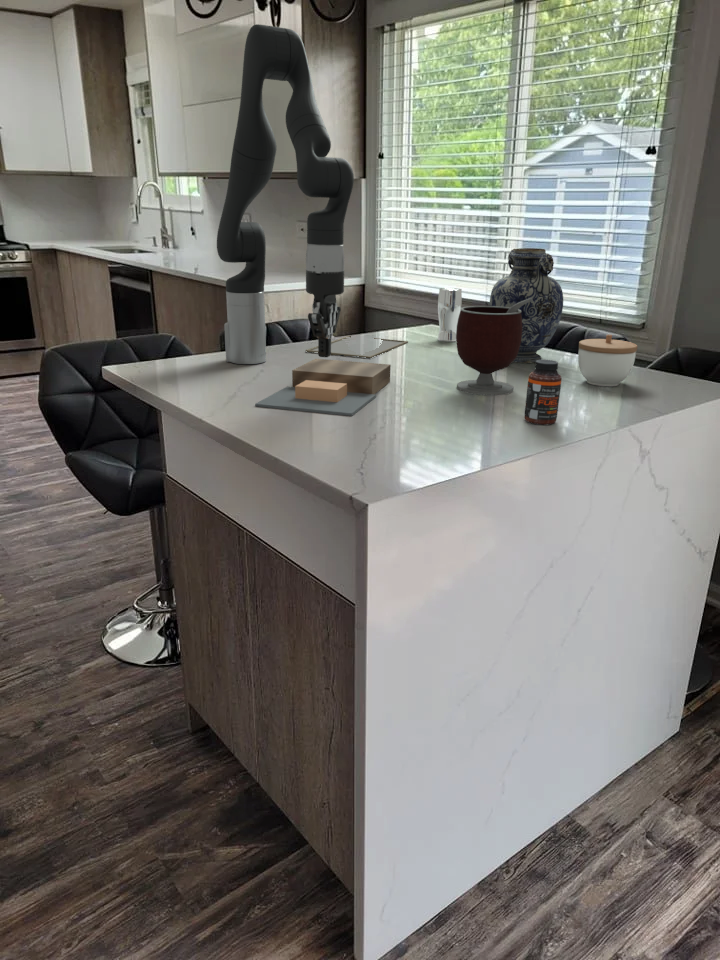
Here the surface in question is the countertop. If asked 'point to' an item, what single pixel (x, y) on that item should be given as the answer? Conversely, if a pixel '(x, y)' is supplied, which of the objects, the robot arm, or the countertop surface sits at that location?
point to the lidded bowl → (606, 360)
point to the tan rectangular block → (321, 391)
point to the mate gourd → (488, 344)
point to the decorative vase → (526, 284)
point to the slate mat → (316, 402)
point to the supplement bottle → (543, 393)
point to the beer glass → (448, 313)
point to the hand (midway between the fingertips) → (324, 356)
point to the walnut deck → (345, 374)
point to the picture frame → (342, 349)
